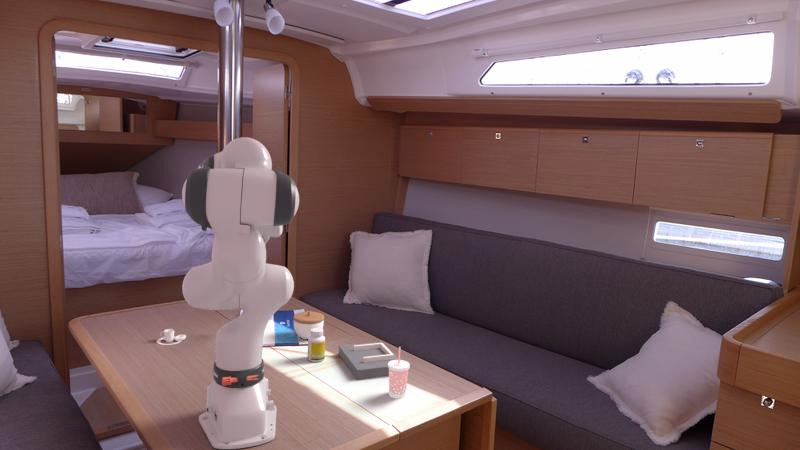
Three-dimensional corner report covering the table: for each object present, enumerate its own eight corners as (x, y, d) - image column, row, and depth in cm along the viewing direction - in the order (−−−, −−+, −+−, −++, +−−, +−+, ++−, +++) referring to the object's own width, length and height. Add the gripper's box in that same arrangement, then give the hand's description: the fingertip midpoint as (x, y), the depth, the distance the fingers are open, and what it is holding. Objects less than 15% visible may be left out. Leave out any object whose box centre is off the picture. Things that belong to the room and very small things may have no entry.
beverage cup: (386, 388, 158) (389, 342, 156) (408, 390, 157) (411, 343, 155) (385, 398, 152) (388, 350, 149) (407, 400, 151) (410, 351, 149)
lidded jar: (321, 343, 190) (321, 317, 188) (290, 341, 190) (290, 315, 188) (325, 332, 200) (326, 307, 199) (296, 331, 200) (297, 306, 199)
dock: (403, 374, 168) (404, 360, 167) (357, 379, 162) (357, 365, 162) (381, 350, 186) (382, 337, 186) (338, 354, 181) (339, 341, 180)
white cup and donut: (188, 339, 188) (188, 327, 188) (177, 347, 180) (177, 335, 180) (164, 336, 189) (164, 325, 189) (151, 345, 181) (151, 333, 181)
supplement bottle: (328, 359, 176) (329, 330, 175) (314, 364, 172) (315, 334, 171) (317, 354, 180) (318, 325, 178) (304, 358, 176) (304, 329, 174)
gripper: (207, 200, 153) (206, 247, 157) (280, 208, 154) (278, 255, 157) (214, 196, 159) (213, 241, 163) (285, 203, 160) (282, 248, 163)
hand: (245, 248), depth 160 cm, fingers open, 8 cm apart
